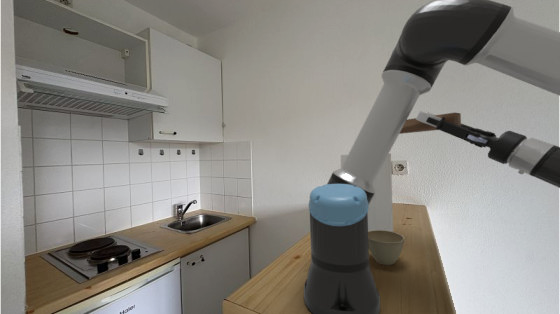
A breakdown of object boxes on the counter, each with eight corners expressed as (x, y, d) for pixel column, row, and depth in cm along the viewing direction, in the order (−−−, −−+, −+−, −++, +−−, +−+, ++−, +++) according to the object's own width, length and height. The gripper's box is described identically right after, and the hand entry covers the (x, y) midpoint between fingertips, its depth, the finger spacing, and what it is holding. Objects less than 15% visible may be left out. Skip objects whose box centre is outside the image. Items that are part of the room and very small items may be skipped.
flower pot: (367, 251, 70) (366, 228, 70) (403, 256, 65) (403, 232, 65) (363, 265, 61) (363, 239, 61) (406, 273, 56) (405, 244, 56)
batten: (455, 127, 61) (454, 112, 61) (375, 135, 81) (374, 124, 81) (461, 127, 63) (460, 113, 63) (381, 135, 83) (381, 124, 83)
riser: (376, 245, 74) (374, 154, 74) (342, 233, 85) (340, 154, 85) (393, 238, 80) (390, 153, 79) (359, 228, 91) (357, 154, 91)
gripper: (495, 167, 49) (401, 126, 66) (515, 163, 59) (429, 128, 76) (519, 136, 46) (414, 101, 63) (536, 137, 56) (441, 106, 72)
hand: (422, 115), depth 69 cm, fingers closed on batten, 4 cm apart
